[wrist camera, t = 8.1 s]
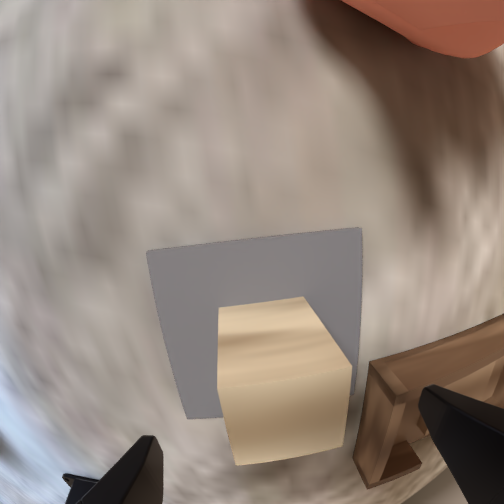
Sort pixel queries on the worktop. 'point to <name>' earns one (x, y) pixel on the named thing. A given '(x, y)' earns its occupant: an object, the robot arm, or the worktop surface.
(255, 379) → the maple block
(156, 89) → the worktop surface
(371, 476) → the box
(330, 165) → the worktop surface
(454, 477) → the robot arm
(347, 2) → the teapot
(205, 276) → the rubber mat
